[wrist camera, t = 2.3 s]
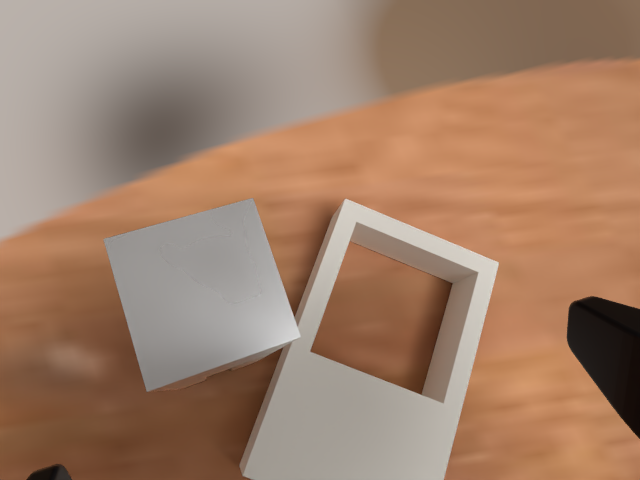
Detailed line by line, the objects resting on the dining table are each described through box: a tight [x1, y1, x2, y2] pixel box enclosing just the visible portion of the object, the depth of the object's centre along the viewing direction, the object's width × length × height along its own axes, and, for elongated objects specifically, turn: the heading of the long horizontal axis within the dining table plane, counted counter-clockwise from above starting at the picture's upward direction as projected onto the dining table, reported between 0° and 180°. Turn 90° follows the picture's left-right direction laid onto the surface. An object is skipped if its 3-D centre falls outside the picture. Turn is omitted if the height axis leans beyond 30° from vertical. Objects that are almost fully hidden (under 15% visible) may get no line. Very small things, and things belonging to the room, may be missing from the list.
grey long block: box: [104, 198, 301, 392], centre depth 16 cm, size 3×3×12 cm
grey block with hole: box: [239, 199, 499, 480], centre depth 22 cm, size 11×7×2 cm, turn 160°
